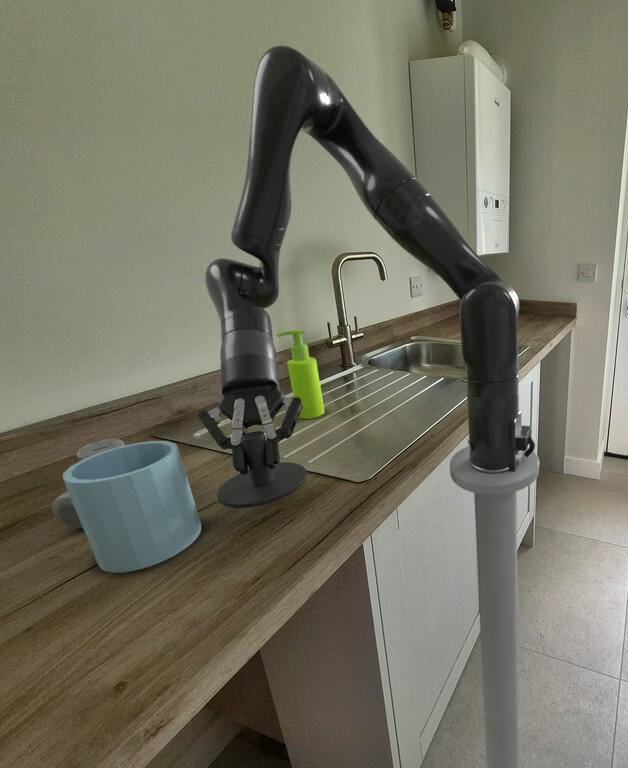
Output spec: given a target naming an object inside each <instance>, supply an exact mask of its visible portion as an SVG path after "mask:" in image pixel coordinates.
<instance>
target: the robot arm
mask: <svg viewBox="0 0 628 768" xmlns="http://www.w3.org/2000/svg"><path fill="white" fill-rule="evenodd" d="M249 131H250V132H249V143H248V153H247V163H246V164H247V165H246V172H245V178H244V183H243V188H242V191H241V192H242V193H241V197H240V200H239V204H238V208H237V212H236V215H235V219H234V222H233V226H232V230H231V234H230V240H231V242H232V244H233V245H234V246H235V247H236V248H238V249H239V250H240V251H242V252H244V253H246V254H248V255H249V256H252V257H254V258H256V259H257V260H259V266H256V265H253V264H248V263H246V262H245V263H244V262H241V261H237V260H234V259H232V258H231V259H230V258H221V257H220V258H217V259H214V260H212V262H210V263H209V265H208V266H207V267H206V270H205V276H204V280H205V287H206V290H207V293H208V295H209V298H210V300H211V302H212V304H213V306H214V308H215V310H216V313H217V315H218V318H219V322H220V334H221V335H220V337H221V339H220V340H221V345H220V351H219V353H220V354H219V359H220V381H221V383H220V384H221V385H220V386H221V398H220V400H219V402H218V404H217V406H216V407H214V408H212V409H210V410H204V409H203V410H200V411H198V413H197V417H198V419H199V421H200V422H201V423H202V424H203V426H204V427H205V429H206V430H207V432H208V433H209V434H210V436H211V437H212V439H213V440H214V442H215V443H216V444H217V445H218V446H219V448H221V449H222V450H231V454H232V455H231V456H232V457H231V458H232V467H233V468H234V470H236V472H237V473H238V472H239V473H241V474H242V475H244V474H248V470H249V468H248V464H247V460H246V456H245V452H244V448H243V444H242V440H241V437H242V436H243V435H245V434H247V433H249V429H250V428H252V427H254V426H263V429H264V432H265V433H264V434H265V437H266V441H265V446H266V457H267V465H268V467H269V469H274V468H276V466H275V464H279V463H280V462H281V455H280V445H279V444H280V442H281V441H283V440H285V439H290V438H291V437H292V436H293V433H294V431H295V428H296V427H297V423H298V421H299V419H300V418H299V416H300V414H301V411H302V409H303V405H302V401H301V399H300V398H299V397H295V398H294V397H293V398H290V397H286V396H285V395H284V393H283V392H282V391H281V384H280V383H281V382H280V374H279V359H278V356H277V349H276V346H275V342H274V334H273V326H272V319H271V315H270V314H269V312H268V311H267V310H266V309H268V308H270V307H271V306H274V304H275V303H276V302H277V301H278V298H279V293H280V282H279V281H280V279H279V277H280V276H279V266H280V265H279V264H280V254H281V249H282V245H283V242H284V239H285V236H286V233H287V230H288V226H289V223H290V219H291V213H292V191H291V190H292V188H291V172H290V171H291V160H292V154H293V150H294V145H295V143H296V141H297V139H298V136H299V133H300V131H302V132H303V133H306V134H307V135H309V136H310V137H311V138H312V139H314V141H315V142H317V143H318V144H319V145H320V146H321V147H322V148H323V149H324V150H325V151H326V153H328V154H329V155H330V156H331V157H332V159H334V160H335V161H336V162H337V163H338V164H339V166H340V167H341V168H342V169H343V170H344V172H345V173H346V175H347V176H348V178H349V180H350V182H351V184H352V186H353V188H354V189H355V192H356V194H357V196H358V197H359V199H360V200H361V203H362V204H363V206H364V208H365V209H366V210H367V211H368V213H369V214H370V216H372V218H373V219H374V220H375V221H376V222H377V223H378V225H380V227H381V228H382V229H383V230H384V231H385V232H386V233H387V235H388V236H389V237H390V238H391V239H392V240H393V241H394V242H395V243H396V244H397V245H399V246H400V247H401V248H402V249H403V250H404V251H405V252H407V253H408V254H409V255H410V256H412V257H413V258H414V259H416V260H417V261H419V262H420V263H421V264H423V265H424V266H425V267H427V268H428V269H429V270H431V271H433V272H434V274H436V275H437V276H439V277H440V278H441V280H443V281H444V282H445V284H446V285H447V286H448V287H449V288H450V290H452V292H453V293H454V294H455V296H456V297H457V298H458V299H459V301H460V304H459V305H460V306H459V329H460V330H459V331H460V344H461V355H462V356H461V357H462V361H463V364H464V367H465V381H466V384H465V385H466V402H467V403H466V404H467V423H468V424H467V426H468V436H467V445H468V446H469V449H470V451H469V452H470V465H471V467H472V468H473V469H475V470H477V471H479V472H482V473H488V474H499V473H504V472H508V471H511V472H515V471H516V468H517V466H518V464H519V461H520V459H521V456H522V451H526V450H527V448H529V449H528V450H527V451H526V452H525V453H524V455H525V456H526V457H528V456H529V455H530V454H531V453H532V452H535V449H536V443H535V441H534V440H533V438H532V426H531V425H522V411H521V410H520V403H519V401H520V399H519V395H520V394H519V393H520V392H519V390H520V389H519V373H520V372H519V368H520V367H519V366H520V365H519V363H520V362H519V357H518V355H519V354H518V317H519V314H520V300H519V297H518V295H517V293H516V291H515V290H514V288H513V287H512V286H511V285H510V284H509V283H508V282H506V281H505V280H504V279H503V278H502V277H501V276H500V275H499V274H498V273H497V272H495V270H493V269H492V268H491V267H490V266H489V264H487V263H486V261H484V259H482V258H481V257H480V256H479V254H477V253H476V252H475V251H474V250H473V248H472V247H471V246H470V245H469V243H468V242H467V240H466V239H465V238H464V236H463V235H462V234H461V232H460V230H459V229H458V228H457V227H456V226H455V224H454V223H453V222H452V220H451V219H450V217H449V216H448V214H446V212H445V211H444V210H443V209H442V207H440V205H439V204H438V202H437V201H436V200H435V198H434V197H433V196H432V195H431V193H429V191H428V190H427V189H426V188H425V186H424V185H423V184H422V183H421V182H420V181H419V180H418V178H416V176H414V174H413V173H412V172H411V171H410V170H409V169H408V168H407V167H406V166H405V165H404V164H403V163H402V161H400V159H399V158H397V156H395V155H394V154H393V153H392V152H391V150H390V149H388V148H387V147H386V146H385V145H384V144H383V143H382V142H381V141H380V140H379V139H378V138H377V137H376V136H375V135H374V134H373V132H372V131H371V130H370V129H369V128H368V126H366V124H365V122H364V121H363V120H362V118H361V117H360V115H359V114H358V113H357V111H356V110H355V109H354V107H353V106H352V104H351V103H350V102H349V100H348V99H347V97H346V96H345V94H344V93H343V91H342V90H341V88H340V87H339V86H338V85H337V83H336V81H335V80H334V79H333V77H331V76H330V75H329V74H328V72H326V71H325V70H324V69H323V68H322V67H320V66H319V65H317V64H316V63H315V62H314V61H313V60H311V59H310V58H309V57H307V56H306V55H305V54H304V53H302V52H301V51H299V50H297V49H295V48H293V47H291V46H290V45H289V46H288V45H284V44H283V45H282V44H281V45H274V46H272V47H270V48H268V49H267V50H266V51H265V52H264V53H263V54H262V56H261V57H260V59H259V61H258V63H257V67H256V71H255V77H254V84H253V95H252V107H251V121H250V130H249ZM283 406H284V409H285V411H286V413H285V416H284V418H283V421H282V423H281V425H280V427H279V428H276V424H275V422H274V418H276V416H277V414H278V413H279V412H280V410H281V409H282V408H283ZM222 415H224V416H225V417H227V419H229V420H230V421H231V422H232V423H231V437H229V436H227V437H226V435H225V434H224V432H223V431H222V429H221V427H220V426H219V425H220V423H221V422H222V417H221V416H222ZM468 446H467V447H468Z"/></svg>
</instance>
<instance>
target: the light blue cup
mask: <svg viewBox="0 0 628 768" xmlns="http://www.w3.org/2000/svg"><path fill="white" fill-rule="evenodd" d="M62 480H63V483H64V486H65V488H66V487H67V490H68V492H69V495H70V497H71V500H72V502H73V505H74V507H75V509H76V512H77V514H78V517H79V519H80V522H81V524H82V526H83V529H82V530H83V531H84V533H85V536H86V539H87V541H88V543H89V546H90V548H91V552H92V553H93V556H94V558H95V561H96V563H97V565H98V567H99V568H100V569H101V570H103V571H104V572H108V573H114V574H118V573H119V574H123V573H130V572H134V571H139V570H143V569H146V568H149V567H152V566H155V565H158V564H160V563H163V562H165V561H167V560H168V559H171V558H172V557H174V556H176V555H177V554H179V553H181V552H183V551H184V550H185V549H187V548H189V546H191V544H193V543H194V542H195V541H196V540H197V539H198V537H199V536H200V534H201V531H202V522H201V519H200V516H199V513H198V509H197V506H196V503H195V499H194V496H193V492H192V489H191V486H190V483H189V478H188V476H187V471H186V468H185V466H184V462H183V460H182V455H181V452H180V449H179V446H178V445H177V443H175V442H172V441H168V440H150V441H142V442H141V441H140V442H134V443H129V444H125V446H120V447H117V448H113V449H110V450H107V451H103V452H100V453H98V454H95V455H93V456H90V457H88V458H85V459H83V460H81V461H79V460H78V462H76V463H74V464H72V465H70V466H69V467H68V468H67V469H66V470H65V471H64V472H63V473H62Z"/></svg>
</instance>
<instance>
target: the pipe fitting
mask: <svg viewBox="0 0 628 768" xmlns="http://www.w3.org/2000/svg"><path fill="white" fill-rule="evenodd" d="M125 445H126V444H125V442H124V441H123V440H121V439H118V438H109V439H102V440H97V441H94V442H91V443H89V444H87V445H84V446H83V447H81V448H80V449H79V450H78V451H77V452H76V457H77V460H78V462H79V461H81V460H83V459H85V458H88V457H90V456H93V455H95V454H98V453H100V452H103V451H107V450H110V449H113V448H117V447H120V446H125ZM51 511H52V514H53V515H54V517H55V519H57V521H59V522H60V523H62V524H63V525H65V526H67V527H71V528H74V529H82V530H84V529H83V526H82V524H81V522H80V519H79V517H78V514H77V512H76V509H75V507H74V505H73V502H72V500H71V497H70V495H69V492H68V490H67V487H66V486H65V491H64V492H62V493H61V494H60V495H59V496H58V497H56V498H55V500H54V501H53V503H52V505H51Z"/></svg>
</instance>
